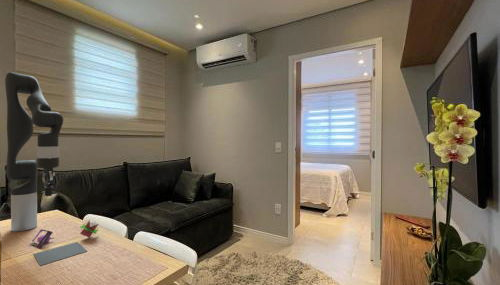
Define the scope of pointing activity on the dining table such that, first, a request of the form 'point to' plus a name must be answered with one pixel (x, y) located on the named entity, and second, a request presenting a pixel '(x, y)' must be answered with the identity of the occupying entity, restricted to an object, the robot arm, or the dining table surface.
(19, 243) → the dining table surface
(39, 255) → the mat
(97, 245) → the dining table surface
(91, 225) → the geometric puzzle
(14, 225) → the robot arm
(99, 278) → the dining table surface
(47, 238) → the game card
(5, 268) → the dining table surface
